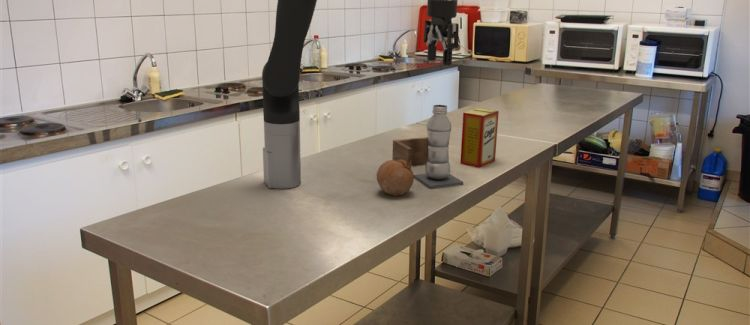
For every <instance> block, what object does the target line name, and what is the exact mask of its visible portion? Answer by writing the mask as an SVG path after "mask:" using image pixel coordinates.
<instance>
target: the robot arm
mask: <svg viewBox="0 0 750 325" xmlns="http://www.w3.org/2000/svg"><path fill="white" fill-rule="evenodd" d="M317 2H318V0H277V4H276V12H275V24H274V25H275V26H274V27H275V30H274V38H273V42H272V45H271V49H270V53H269V56H268V59H267V61H266V63H265V64H264V65H263V68H262V71H261V80H262V82H261V84H262V110H263V111H262V112H263V113H262V114H263V134H264V136H263V137H264V147H262V161H263V162H262V163H263V167H262V168H263V182H264V184H265V185H266V187H268V189H278V190H279V189H281V190H283V189H293V188H295V187H298V186H300V185H301V183H302V171H301V163H302V162H301V121H300V119H301V118H300V117H301V114H300V113H301V112H300V109H301V108H300V95H299V94H300V93H299V92H300V91H299V86H300V84H299V83H300V75H301V67H302V66H301V64H302V57H303V50H304V44H305V42H306V38H307V36H308V32H309V30H310V27H311V24H312V20H313V17H314V13H315V8H316V6H317ZM457 14H458V0H427V4H426V16H427V17H428V18H431V19H425V21H424V29H423V30H424V31H423V43H425V44H426V47H427V56H426V57H427V59H426V60H428V61H430V62H432V61H433V62H434V61H436V60H437V44H438V43H439V42H440V43H441V44H442V47H443V50H442V51H443V52H442V65H443V66H451V65H452V64H453V63H452V62H453V60H452V59H453V51H454V50H455V49H458V47H459V31H460V26H459V23H455V22H452V19H454V18H457Z"/></svg>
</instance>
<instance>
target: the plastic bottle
mask: <svg viewBox="0 0 750 325" xmlns="http://www.w3.org/2000/svg"><path fill="white" fill-rule="evenodd" d="M431 112H432V115H431V117H430V118H429V119H428V121H427V123H426V131H427V132H426V133H427V137H428V156H427V162H426V164H425V174H426V175H427V176H428V177H429V178H432V179H445V178H447V177H448V175H449V174H450V172H451V165H450V161H449V160H450V159H449V158H450V157H449V145H450V138H451V132H452V123H451V121H450V119H449V117H448V116H447V114H448V105H444V104H434V105H433V106H432V111H431Z"/></svg>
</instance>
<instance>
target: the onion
mask: <svg viewBox="0 0 750 325" xmlns="http://www.w3.org/2000/svg"><path fill="white" fill-rule="evenodd" d="M414 175H415V174H414V171H413V170H412V167H411V168H410V165H409V164H408V163H407V161H406V160H392V159H391V160H389V159H388V160H386V161H384V162H383V163H382V164H380V165H379V167H378V169H377V172H376V182H377V184H378V185H379V187H380V189H381V190H382V191H383V192H384V193H385V194H386V195H390V196H392V197H398V196H402V195H403V194H406V193H407V192H408V191H410V189H411V187H412V186H413V184H414V179H415V178H414Z"/></svg>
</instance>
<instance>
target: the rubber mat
mask: <svg viewBox="0 0 750 325" xmlns="http://www.w3.org/2000/svg"><path fill="white" fill-rule="evenodd" d="M413 175H414V179H415V180H416V181H417V182H419V183H420V184H422V185H423V186H425V187H427V188H428V189H439V188H447V187H448V188H449V187H457V186H463V185H464V181H462V180H461V179H460V178H457V177H456V176H454V175H452V174H450V173H449V175H448V177H447V178H445V179H432V178H429V177H428V176H427V175H426V173H420V174H413Z"/></svg>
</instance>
